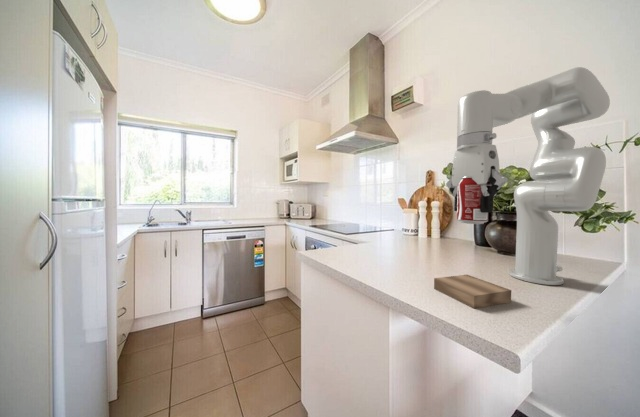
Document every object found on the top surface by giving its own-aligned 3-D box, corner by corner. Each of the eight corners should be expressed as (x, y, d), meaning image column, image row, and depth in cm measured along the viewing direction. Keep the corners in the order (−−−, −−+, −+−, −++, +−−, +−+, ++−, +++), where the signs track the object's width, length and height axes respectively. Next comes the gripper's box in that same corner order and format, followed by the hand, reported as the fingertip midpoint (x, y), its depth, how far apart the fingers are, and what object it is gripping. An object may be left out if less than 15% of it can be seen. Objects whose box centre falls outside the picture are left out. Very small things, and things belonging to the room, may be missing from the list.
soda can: (493, 224, 54) (495, 175, 54) (463, 224, 55) (464, 176, 55) (479, 221, 61) (480, 178, 60) (452, 221, 62) (453, 178, 62)
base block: (466, 284, 66) (466, 274, 66) (511, 302, 55) (511, 290, 55) (434, 288, 63) (434, 278, 63) (473, 308, 51) (474, 295, 51)
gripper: (522, 134, 50) (520, 213, 51) (456, 151, 67) (455, 210, 67) (498, 132, 48) (496, 214, 49) (436, 149, 65) (435, 210, 65)
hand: (472, 211), depth 58 cm, fingers closed on soda can, 6 cm apart
